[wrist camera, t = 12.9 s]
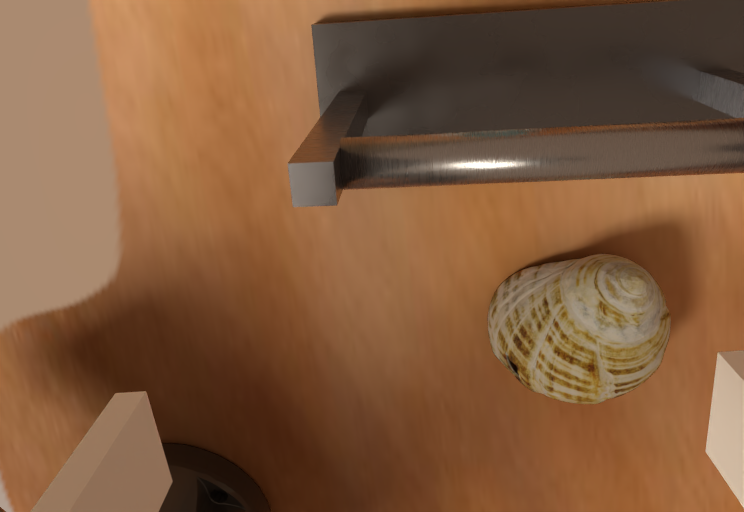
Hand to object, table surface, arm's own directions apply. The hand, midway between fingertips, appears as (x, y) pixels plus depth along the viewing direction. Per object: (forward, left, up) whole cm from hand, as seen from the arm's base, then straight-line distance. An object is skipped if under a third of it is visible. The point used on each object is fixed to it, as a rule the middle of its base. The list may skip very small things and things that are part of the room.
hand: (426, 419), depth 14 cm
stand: (+6, +3, -26) cm, 26 cm away
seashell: (+10, -11, -26) cm, 30 cm away
